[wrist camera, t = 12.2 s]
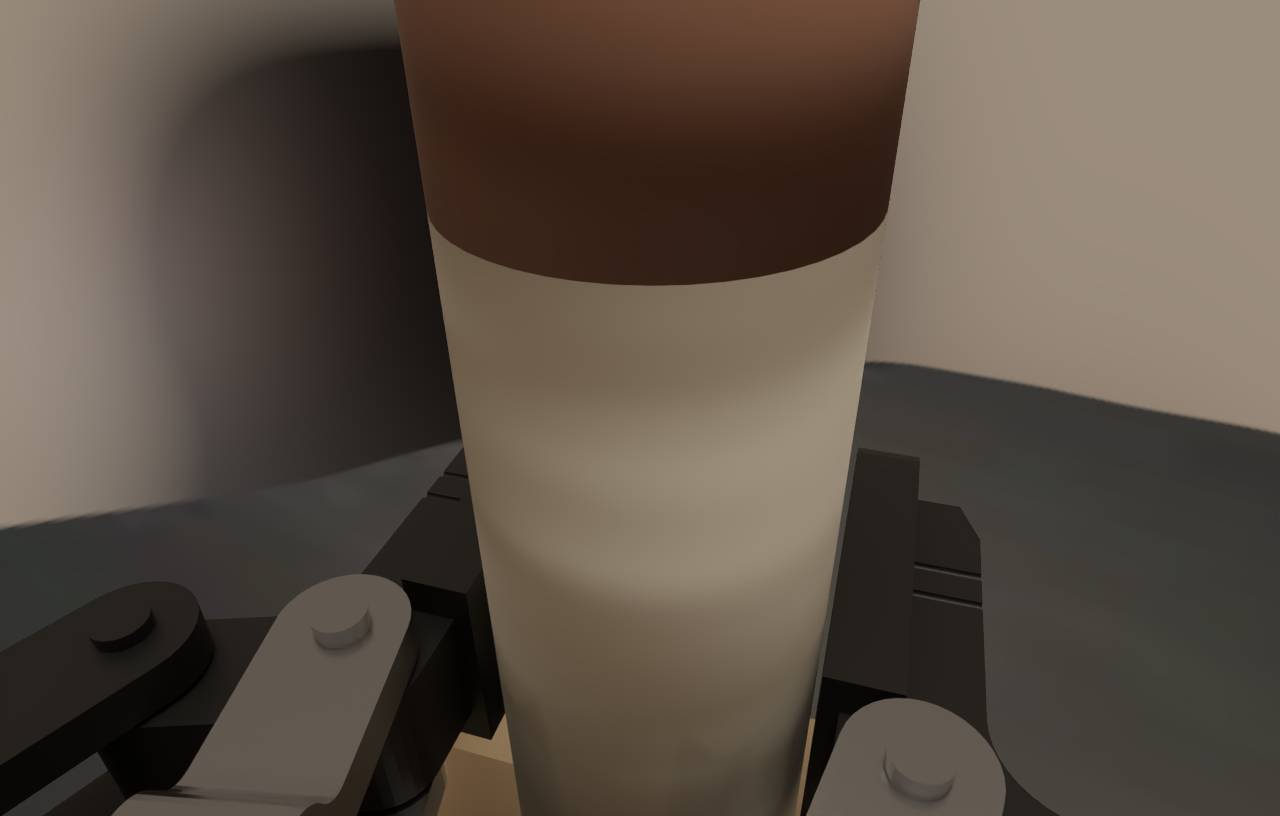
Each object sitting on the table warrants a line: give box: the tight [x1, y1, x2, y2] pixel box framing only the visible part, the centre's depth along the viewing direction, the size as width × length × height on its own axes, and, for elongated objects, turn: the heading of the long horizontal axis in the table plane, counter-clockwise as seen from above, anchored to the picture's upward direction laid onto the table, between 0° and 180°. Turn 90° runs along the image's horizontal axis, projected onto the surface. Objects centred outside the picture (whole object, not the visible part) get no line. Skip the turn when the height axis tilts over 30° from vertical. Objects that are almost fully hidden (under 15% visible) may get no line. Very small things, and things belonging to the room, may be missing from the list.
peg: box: [394, 0, 920, 816], centre depth 9 cm, size 3×3×16 cm
